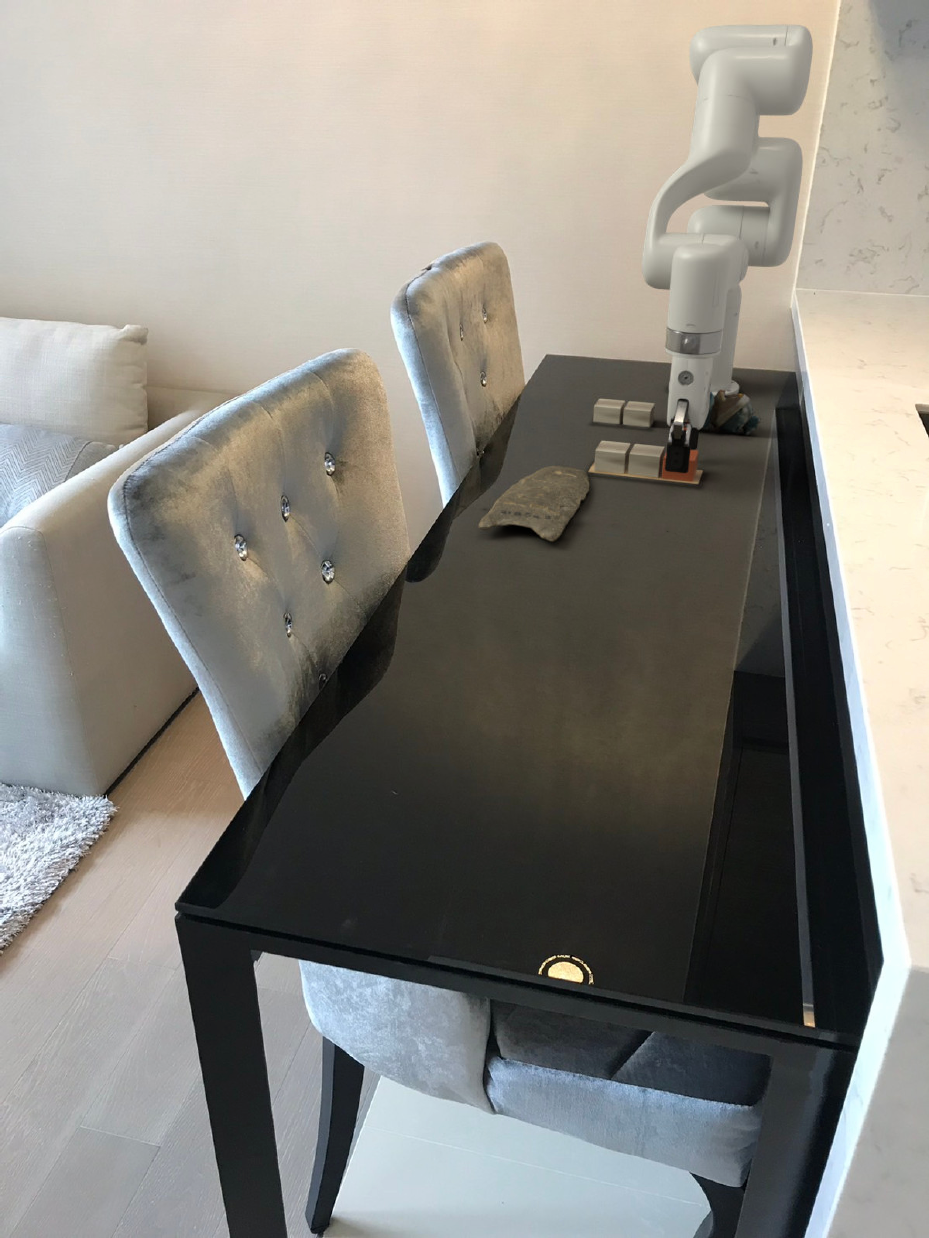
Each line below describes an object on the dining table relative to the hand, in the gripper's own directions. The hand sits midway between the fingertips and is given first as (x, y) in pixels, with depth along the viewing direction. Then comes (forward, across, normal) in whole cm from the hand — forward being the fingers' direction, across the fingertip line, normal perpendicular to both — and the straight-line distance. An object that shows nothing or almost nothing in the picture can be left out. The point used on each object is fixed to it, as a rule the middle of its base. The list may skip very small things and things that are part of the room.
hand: (681, 459), depth 145 cm
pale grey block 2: (+3, +22, +10) cm, 25 cm away
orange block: (+2, 0, 0) cm, 2 cm away
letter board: (+3, 0, +5) cm, 6 cm away
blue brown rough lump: (+3, +22, -2) cm, 22 cm away
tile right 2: (+2, 0, +5) cm, 6 cm away
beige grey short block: (+3, +22, +15) cm, 27 cm away
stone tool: (+3, -16, +16) cm, 23 cm away
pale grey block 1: (+2, 0, +10) cm, 10 cm away
